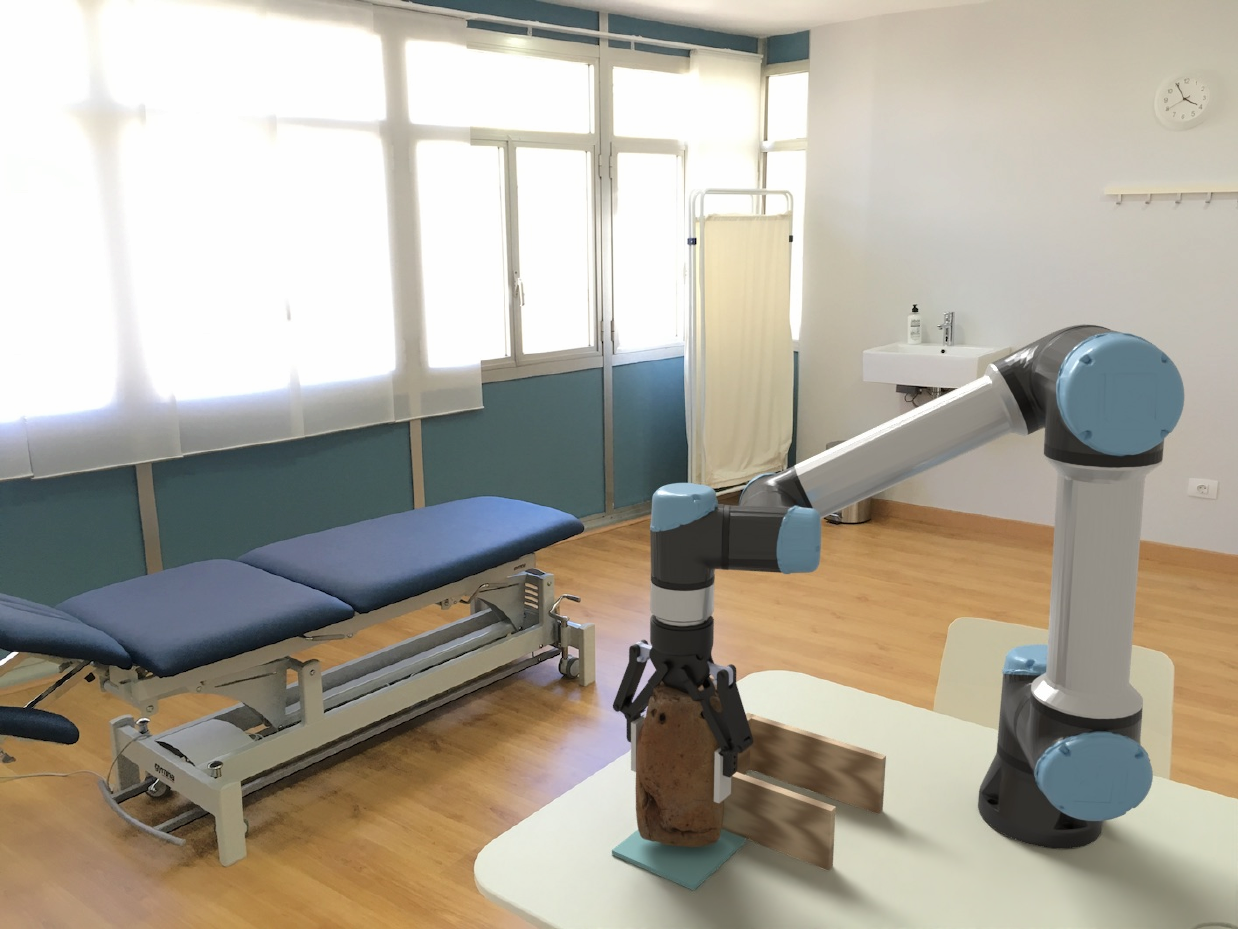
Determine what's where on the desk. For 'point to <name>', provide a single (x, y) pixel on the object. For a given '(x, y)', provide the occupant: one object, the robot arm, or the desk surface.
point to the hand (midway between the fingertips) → (679, 782)
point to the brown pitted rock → (677, 771)
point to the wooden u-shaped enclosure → (808, 765)
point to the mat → (679, 857)
